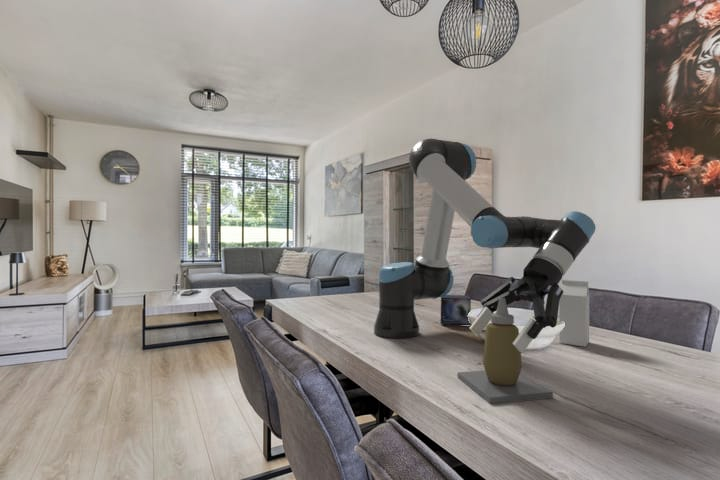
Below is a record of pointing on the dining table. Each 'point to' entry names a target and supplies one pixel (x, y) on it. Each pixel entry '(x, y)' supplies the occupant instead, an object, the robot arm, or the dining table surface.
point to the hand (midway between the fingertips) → (493, 339)
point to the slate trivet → (504, 388)
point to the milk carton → (574, 313)
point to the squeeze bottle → (502, 348)
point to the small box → (455, 309)
